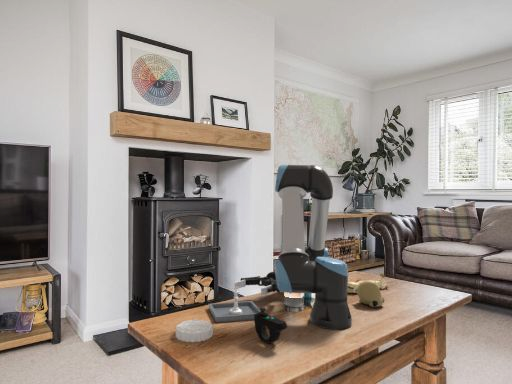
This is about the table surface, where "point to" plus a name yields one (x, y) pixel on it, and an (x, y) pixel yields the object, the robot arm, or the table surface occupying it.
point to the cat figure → (353, 286)
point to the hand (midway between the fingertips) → (248, 288)
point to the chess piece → (235, 304)
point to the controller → (268, 326)
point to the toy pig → (369, 293)
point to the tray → (222, 314)
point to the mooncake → (194, 330)
